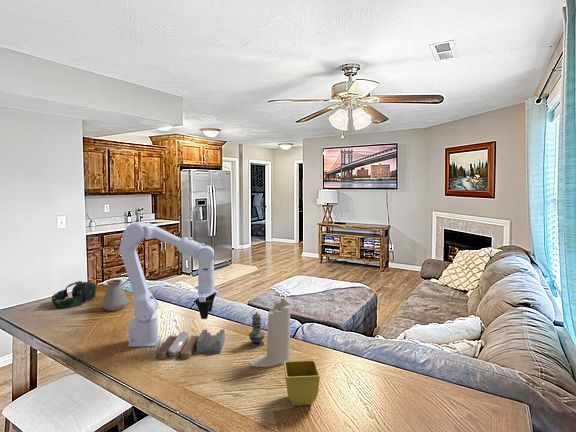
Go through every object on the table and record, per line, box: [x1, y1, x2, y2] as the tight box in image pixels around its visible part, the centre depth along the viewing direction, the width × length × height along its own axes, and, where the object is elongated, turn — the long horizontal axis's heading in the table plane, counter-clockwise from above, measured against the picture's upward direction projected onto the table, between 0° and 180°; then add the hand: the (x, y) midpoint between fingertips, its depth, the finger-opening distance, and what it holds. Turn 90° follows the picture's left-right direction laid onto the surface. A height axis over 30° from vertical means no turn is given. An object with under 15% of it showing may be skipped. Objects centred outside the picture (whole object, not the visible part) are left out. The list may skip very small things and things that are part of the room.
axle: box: [168, 331, 190, 359], centre depth 127 cm, size 12×4×4 cm, turn 1°
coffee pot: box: [100, 278, 130, 312], centre depth 173 cm, size 21×12×15 cm, turn 152°
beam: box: [155, 335, 200, 360], centre depth 127 cm, size 11×14×2 cm
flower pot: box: [283, 359, 321, 407], centre depth 97 cm, size 9×9×9 cm
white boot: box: [247, 297, 291, 368], centre depth 118 cm, size 7×14×20 cm, turn 113°
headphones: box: [51, 280, 97, 310], centre depth 177 cm, size 13×13×20 cm
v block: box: [196, 328, 226, 354], centre depth 129 cm, size 8×10×4 cm
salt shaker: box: [248, 311, 266, 348], centre depth 131 cm, size 6×6×12 cm
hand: (206, 314), depth 135 cm, fingers open, 7 cm apart
